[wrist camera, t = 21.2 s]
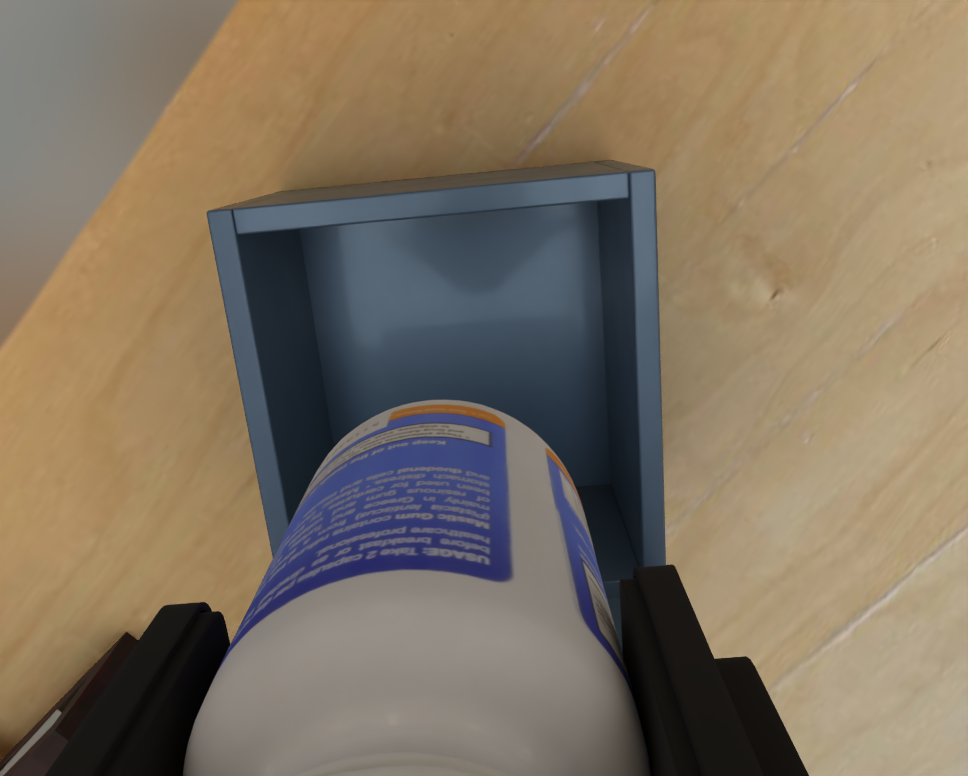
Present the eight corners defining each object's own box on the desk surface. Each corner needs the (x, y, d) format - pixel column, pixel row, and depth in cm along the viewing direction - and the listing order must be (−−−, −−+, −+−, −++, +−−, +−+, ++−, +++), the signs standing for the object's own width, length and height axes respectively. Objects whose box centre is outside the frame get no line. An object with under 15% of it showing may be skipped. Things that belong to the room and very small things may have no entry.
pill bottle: (260, 557, 16) (-59, 1140, 7) (399, 337, 15) (238, 687, 5) (489, 683, 17) (485, 1353, 8) (640, 485, 15) (864, 1010, 6)
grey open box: (278, 191, 33) (205, 211, 24) (612, 159, 32) (655, 168, 24) (331, 514, 37) (285, 626, 29) (626, 490, 37) (667, 597, 28)
